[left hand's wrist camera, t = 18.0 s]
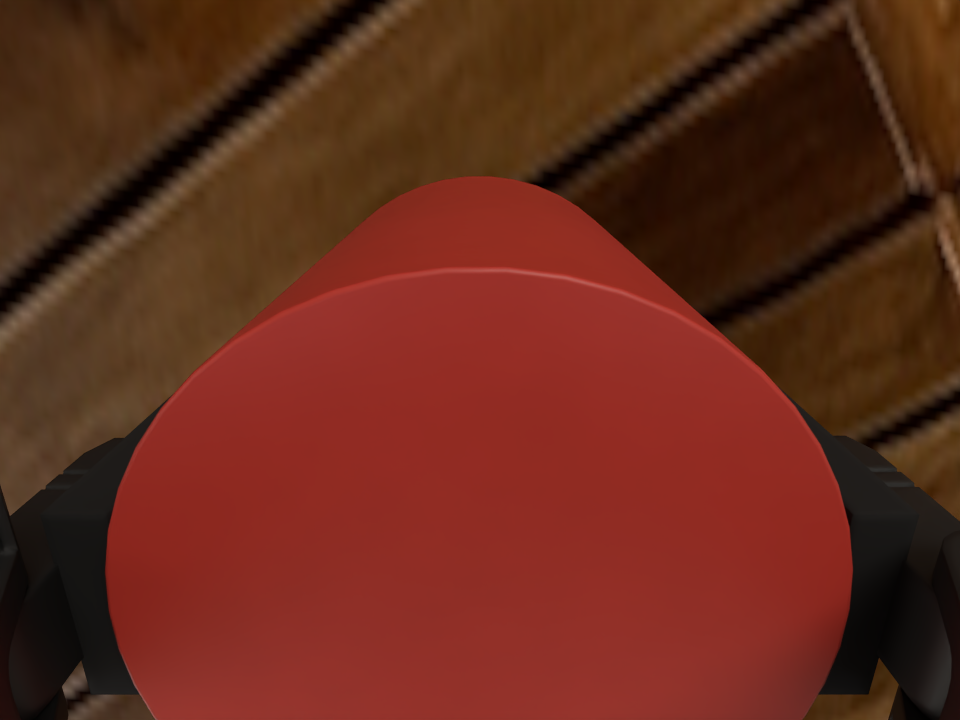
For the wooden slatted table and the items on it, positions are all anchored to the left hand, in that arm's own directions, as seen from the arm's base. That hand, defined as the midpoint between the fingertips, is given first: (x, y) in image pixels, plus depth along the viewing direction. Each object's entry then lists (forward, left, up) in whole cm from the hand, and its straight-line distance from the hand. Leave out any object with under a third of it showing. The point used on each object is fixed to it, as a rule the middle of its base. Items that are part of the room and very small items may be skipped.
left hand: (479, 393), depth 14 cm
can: (0, 0, -3) cm, 3 cm away
